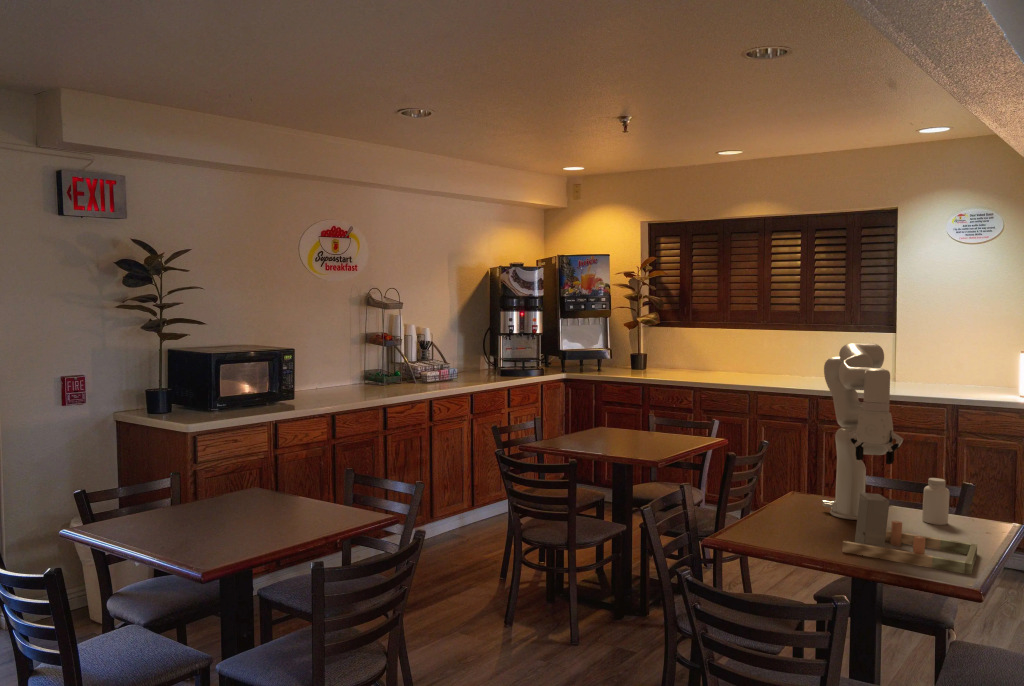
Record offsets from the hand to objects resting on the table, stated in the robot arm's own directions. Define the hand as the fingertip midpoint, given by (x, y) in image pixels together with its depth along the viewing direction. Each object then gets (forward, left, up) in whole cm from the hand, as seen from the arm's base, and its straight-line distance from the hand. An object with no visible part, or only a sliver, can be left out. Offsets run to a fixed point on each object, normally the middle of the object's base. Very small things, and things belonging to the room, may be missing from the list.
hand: (874, 461), depth 255 cm
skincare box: (+2, -10, -25) cm, 27 cm away
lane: (+12, -10, -25) cm, 29 cm away
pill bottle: (+15, +36, -25) cm, 46 cm away
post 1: (+8, -3, -25) cm, 26 cm away
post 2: (+16, -18, -25) cm, 34 cm away
